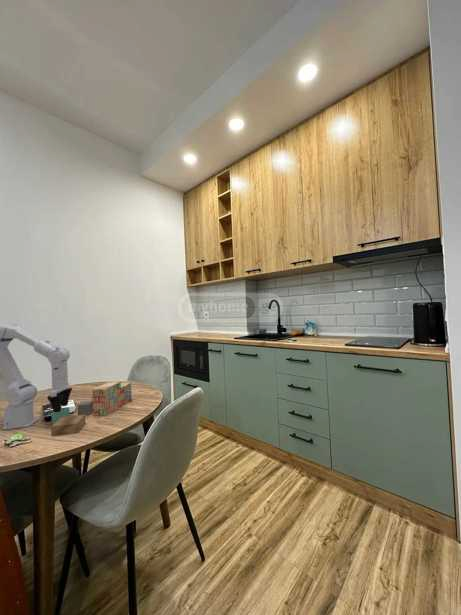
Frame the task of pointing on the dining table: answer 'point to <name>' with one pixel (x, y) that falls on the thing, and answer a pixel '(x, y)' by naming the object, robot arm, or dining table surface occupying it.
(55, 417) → the teal cube
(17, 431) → the dining table surface
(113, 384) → the stack of blocks
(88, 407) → the charcoal cube
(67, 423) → the walnut block
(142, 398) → the dining table surface
